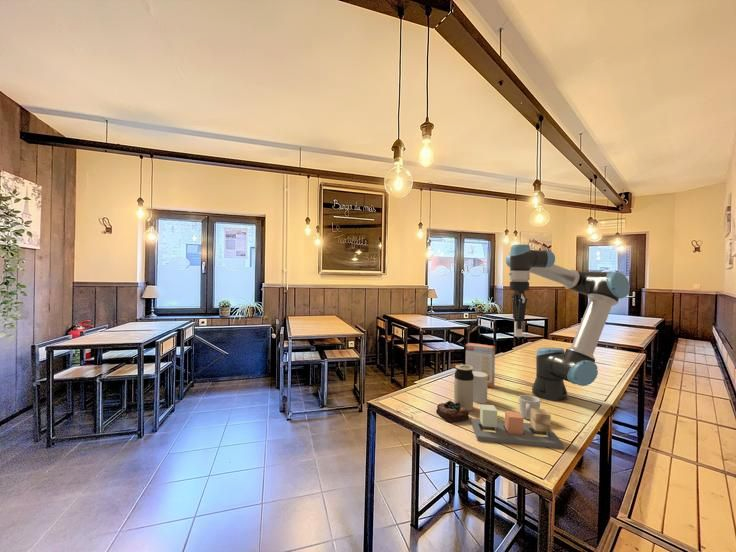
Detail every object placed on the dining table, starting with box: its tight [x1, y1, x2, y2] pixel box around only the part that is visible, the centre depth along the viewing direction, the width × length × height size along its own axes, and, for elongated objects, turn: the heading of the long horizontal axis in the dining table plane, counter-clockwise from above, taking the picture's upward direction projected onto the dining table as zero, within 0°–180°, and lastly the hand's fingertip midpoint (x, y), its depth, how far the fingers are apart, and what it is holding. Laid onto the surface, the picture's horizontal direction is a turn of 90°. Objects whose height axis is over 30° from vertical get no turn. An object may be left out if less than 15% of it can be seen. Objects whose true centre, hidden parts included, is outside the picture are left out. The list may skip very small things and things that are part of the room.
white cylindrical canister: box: [472, 371, 488, 404], centre depth 151 cm, size 8×8×12 cm
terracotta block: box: [504, 410, 525, 435], centre depth 119 cm, size 5×5×6 cm
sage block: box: [479, 403, 498, 427], centre depth 120 cm, size 5×5×6 cm
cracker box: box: [465, 342, 496, 388], centre depth 173 cm, size 14×6×21 cm, turn 55°
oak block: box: [529, 408, 552, 432], centre depth 117 cm, size 5×5×6 cm
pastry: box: [435, 400, 470, 424], centre depth 133 cm, size 11×12×6 cm
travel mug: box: [453, 364, 474, 412], centre depth 142 cm, size 8×8×18 cm
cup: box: [518, 394, 542, 421], centre depth 132 cm, size 11×8×8 cm
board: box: [470, 418, 564, 449], centre depth 119 cm, size 28×14×2 cm, turn 81°
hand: (518, 336), depth 138 cm, fingers closed
